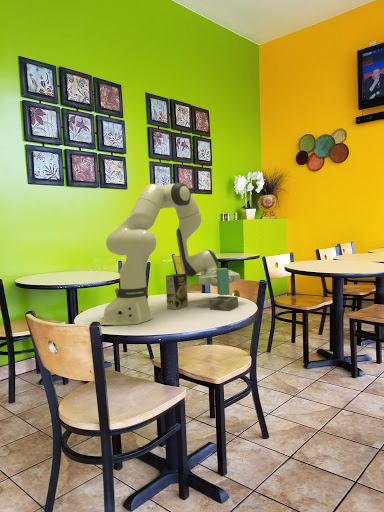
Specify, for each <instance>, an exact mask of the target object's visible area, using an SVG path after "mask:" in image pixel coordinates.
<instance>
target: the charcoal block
mask: <svg viewBox="0 0 384 512" xmlns="http://www.w3.org/2000/svg"><path fill="white" fill-rule="evenodd" d="M208 304H209V310H210V311H221V312H230V311H232V310H235V309H237V308H239V297H238V296H229V295H218V296H216V297H213V298H210V299H209V303H208Z"/></svg>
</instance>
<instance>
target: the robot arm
mask: <svg viewBox="0 0 384 512" xmlns="http://www.w3.org/2000/svg"><path fill="white" fill-rule="evenodd" d="M171 208H174V209H175V213H176V216H177V219H178V227H177V229H176V241H177V247H178V253H179V257H180V267H181V272H182V274H187V277H189V278H193V277H194V276H196V275H198V278H197V277H196V278H195V280H196V281H198V284H199V285H210V286H212V287H217V283H219V279H217V272H216V269H219V261H218V258H217V255H216V254H215V253H214V252H213V251H212V250H210V249H204V250H202V251H200V252H198V253H195V254H193V255H191V256H189V250H188V245H187V244H188V243H187V242H188V240H189V239H190V238H191V236H192V235H193V234H194V232H196V231H197V230H198V228H199V227H200V226H201V224H202V216H201V212H200V209H199V207H198V204H197V202H196V200H195V198H194V196H193V195H192V193H191V190H190V188H189V186H188V185H187V184H185V183H184V182H175V183H166V184H163V185H159V184H156V183H150V184H148V185H146V186H145V188H144V189H143V190H142V192H141V193H140V194H139V196H138V198H137V200H136V202H135V204H134V205H133V208H132V210H131V212H130V213H129V214H128V216H127V218H125V220H124V221H123V222H122V223H121V224H120V226H119V227H117V229H115V230H114V231H113V232H111V233H109V234H108V235H107V238H106V241H105V243H106V248H107V250H108V252H110V253H112V254H114V255H118V256H125V257H126V259H125V263H124V265H123V266H122V267H120V270H119V282H120V284H119V285H120V287H119V288H117V287H116V288H115V289H114V293H115V298H114V299H113V300H112V301H110V303H108V304H107V305H106V307H105V308H104V312H103V317H101V318H100V319H99V320H98V323H99V322H100V323H101V325H100V326H102V325H113V326H130V325H139V324H142V323H144V322H148V321H151V320H152V319H153V316H152V314H151V310H150V306H149V300H148V299H149V289H148V286H147V275H146V273H147V272H146V271H147V264H148V260H149V257H151V256H150V255H151V254H152V253H153V252H154V251H155V249H156V246H157V238H156V236H155V234H154V233H153V232H152V231H150V230H149V229H151V228H152V227H153V226H154V224H155V222H156V220H157V217H158V215H159V213H160V211H161V209H171ZM228 272H229V284H231V283H237V282H241V275H240V273H238V272H236V271H233V270H232V269H228ZM199 273H200V275H199Z"/></svg>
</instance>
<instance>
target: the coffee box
mask: <svg viewBox="0 0 384 512" xmlns="http://www.w3.org/2000/svg"><path fill="white" fill-rule="evenodd" d="M187 277H188V276H187V274H184V273H175V274H169V275H165V284H166V285H165V288H166V290H165V291H166V308H167V309H170V310H180V309H182V308H186V307H188V306H189V299H188V298H189V297H188V283H187V282H188V279H187Z"/></svg>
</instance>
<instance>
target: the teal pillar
mask: <svg viewBox="0 0 384 512" xmlns="http://www.w3.org/2000/svg"><path fill="white" fill-rule="evenodd" d="M228 270H229V268H228V267H227V268H226V267H221V268H217V269H216V272H217V279H219V283H217V286H216V287H217V288H216V289H217V295H218V296H229V295H230V293H231V292H230V283H229V272H228Z"/></svg>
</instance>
